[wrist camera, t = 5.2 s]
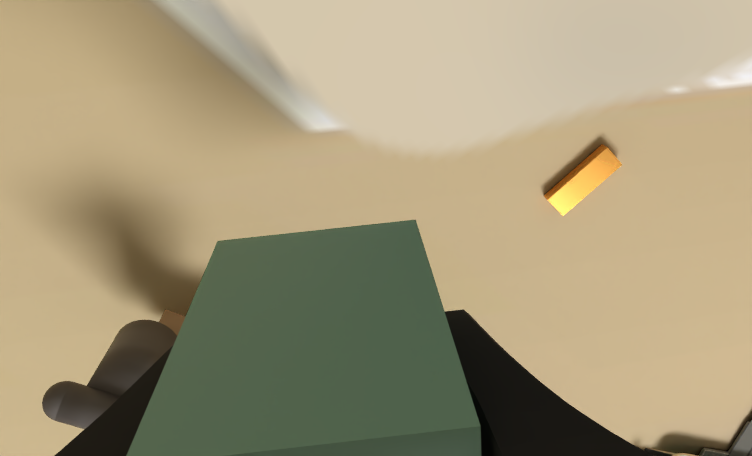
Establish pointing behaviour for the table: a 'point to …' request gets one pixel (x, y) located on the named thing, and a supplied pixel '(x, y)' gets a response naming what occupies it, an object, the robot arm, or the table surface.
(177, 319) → the crank
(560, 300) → the table surface
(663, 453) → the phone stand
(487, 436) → the robot arm
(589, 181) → the crank base
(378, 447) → the block
